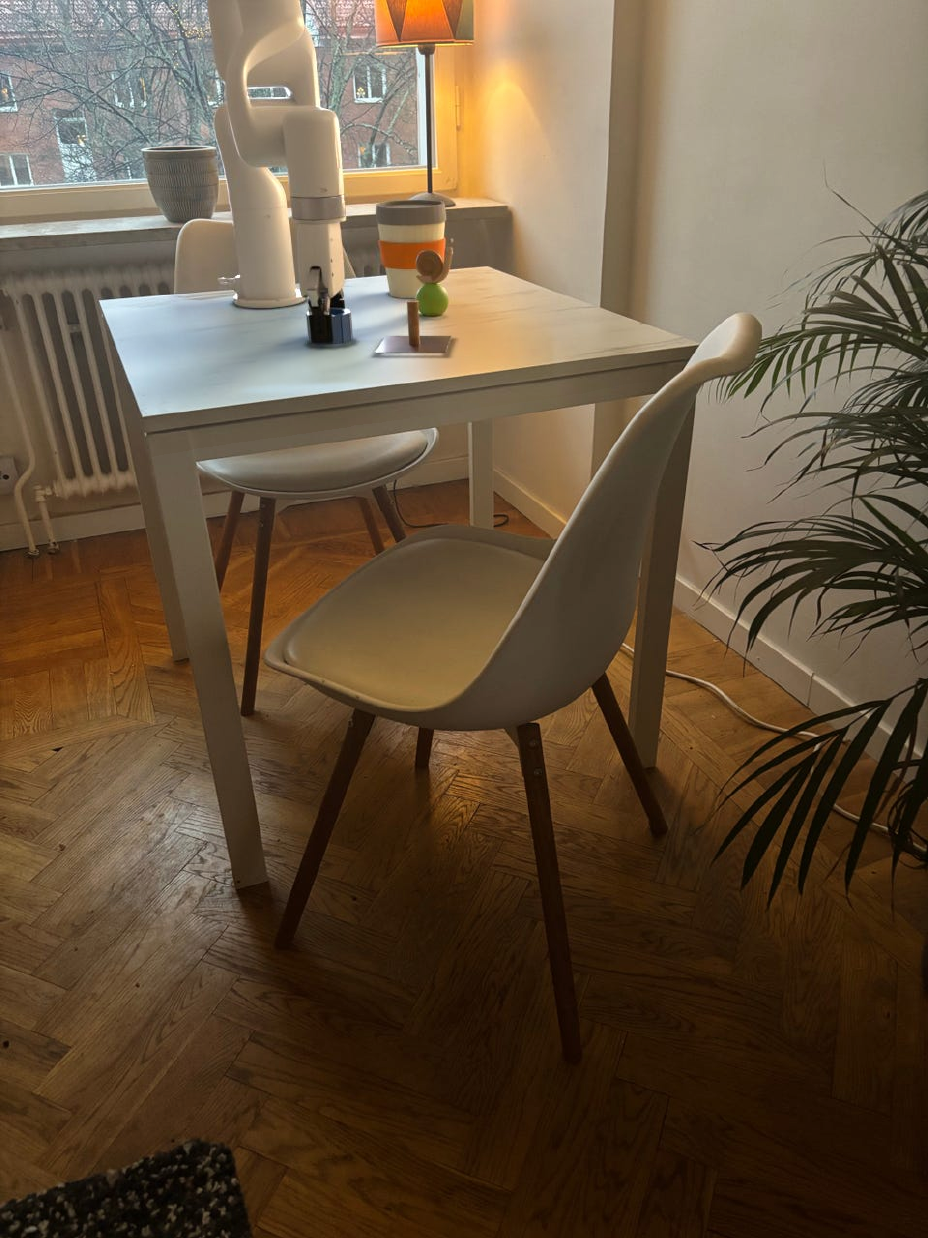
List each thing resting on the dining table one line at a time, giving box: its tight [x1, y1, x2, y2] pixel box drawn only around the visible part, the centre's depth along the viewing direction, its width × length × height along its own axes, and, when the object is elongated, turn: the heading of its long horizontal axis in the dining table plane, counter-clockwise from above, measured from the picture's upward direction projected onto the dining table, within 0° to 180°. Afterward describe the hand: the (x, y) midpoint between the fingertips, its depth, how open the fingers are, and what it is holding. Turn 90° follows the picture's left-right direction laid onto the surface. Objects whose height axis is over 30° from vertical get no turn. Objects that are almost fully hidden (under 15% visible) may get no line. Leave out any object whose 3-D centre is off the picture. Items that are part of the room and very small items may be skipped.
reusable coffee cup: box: [375, 199, 448, 299], centre depth 167 cm, size 12×13×15 cm
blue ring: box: [305, 307, 354, 346], centre depth 138 cm, size 6×6×4 cm
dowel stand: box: [374, 299, 453, 354], centre depth 134 cm, size 10×10×7 cm
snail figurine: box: [414, 238, 454, 317], centre depth 150 cm, size 5×6×12 cm
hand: (329, 334), depth 139 cm, fingers open, 9 cm apart
